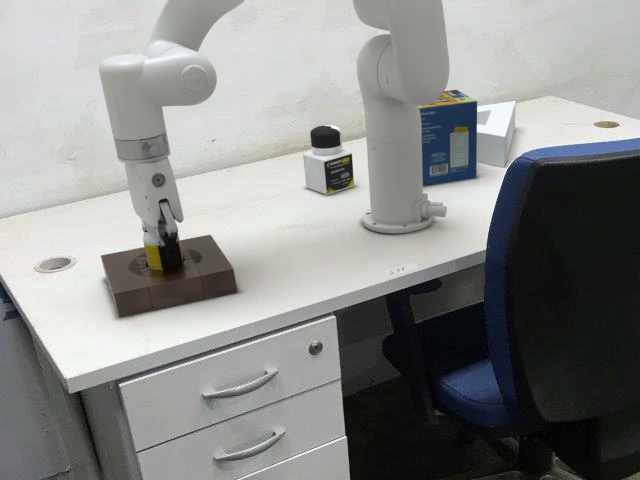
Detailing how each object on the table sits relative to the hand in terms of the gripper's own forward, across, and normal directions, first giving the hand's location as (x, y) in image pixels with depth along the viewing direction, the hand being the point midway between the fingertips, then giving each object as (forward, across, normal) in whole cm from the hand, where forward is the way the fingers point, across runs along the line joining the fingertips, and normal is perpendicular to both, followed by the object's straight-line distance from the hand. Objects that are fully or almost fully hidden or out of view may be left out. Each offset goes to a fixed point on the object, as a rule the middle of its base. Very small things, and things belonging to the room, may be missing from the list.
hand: (165, 260), depth 131 cm
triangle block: (+4, +29, -86) cm, 91 cm away
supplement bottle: (+3, 0, 0) cm, 3 cm away
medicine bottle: (+4, +25, -43) cm, 50 cm away
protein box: (+4, +16, -63) cm, 65 cm away
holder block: (+4, 0, 0) cm, 4 cm away
